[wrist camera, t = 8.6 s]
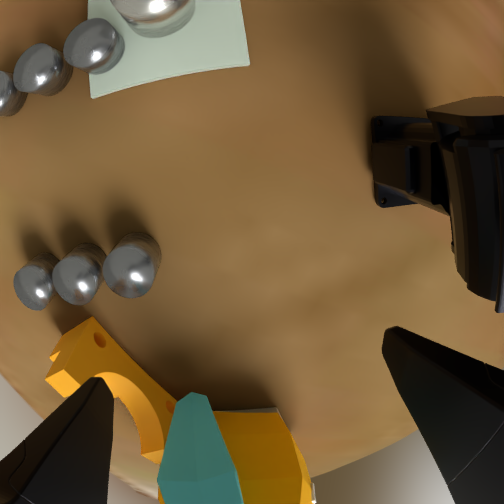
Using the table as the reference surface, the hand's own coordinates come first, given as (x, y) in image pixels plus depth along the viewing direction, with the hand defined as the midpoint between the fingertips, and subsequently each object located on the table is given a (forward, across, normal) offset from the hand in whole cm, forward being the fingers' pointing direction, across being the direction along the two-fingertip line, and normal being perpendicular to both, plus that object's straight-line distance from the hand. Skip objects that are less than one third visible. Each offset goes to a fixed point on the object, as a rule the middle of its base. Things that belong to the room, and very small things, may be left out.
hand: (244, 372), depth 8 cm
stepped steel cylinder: (+12, +2, -16) cm, 20 cm away
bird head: (+12, +3, +24) cm, 27 cm away
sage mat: (+12, +2, -16) cm, 20 cm away
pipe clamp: (+12, +11, +11) cm, 20 cm away
